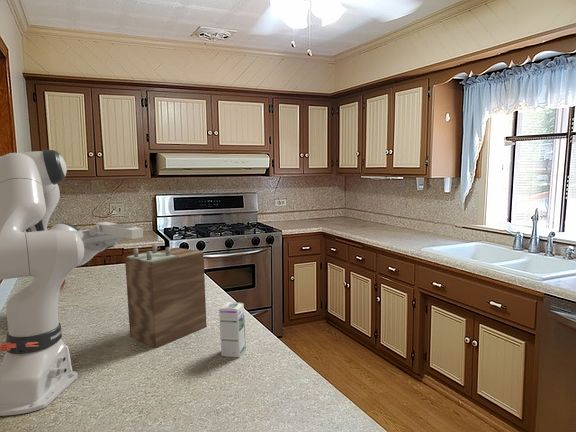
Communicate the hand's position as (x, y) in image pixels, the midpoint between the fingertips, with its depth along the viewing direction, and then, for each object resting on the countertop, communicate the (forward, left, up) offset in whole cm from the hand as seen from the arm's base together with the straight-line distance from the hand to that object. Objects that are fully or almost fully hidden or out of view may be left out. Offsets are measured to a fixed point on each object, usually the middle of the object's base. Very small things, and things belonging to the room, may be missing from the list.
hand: (107, 226), depth 147 cm
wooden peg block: (-15, -22, -34) cm, 43 cm away
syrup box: (-34, -43, -34) cm, 65 cm away
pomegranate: (+43, +37, -34) cm, 66 cm away
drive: (-5, -5, -2) cm, 8 cm away
